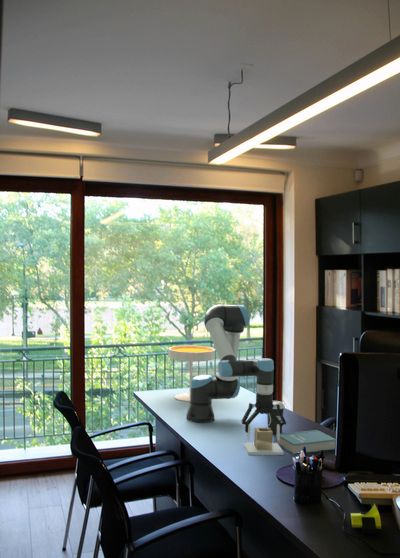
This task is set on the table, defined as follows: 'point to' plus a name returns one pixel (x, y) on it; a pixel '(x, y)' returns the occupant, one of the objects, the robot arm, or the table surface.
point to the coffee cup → (271, 421)
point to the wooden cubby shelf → (263, 438)
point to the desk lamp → (190, 355)
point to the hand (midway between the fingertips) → (263, 439)
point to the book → (306, 441)
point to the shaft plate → (253, 451)
